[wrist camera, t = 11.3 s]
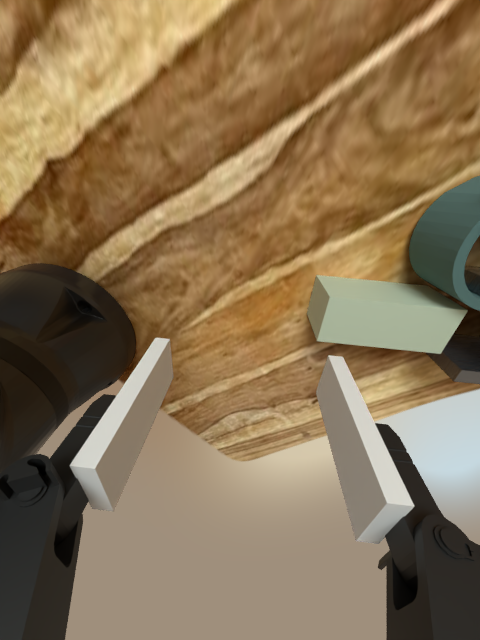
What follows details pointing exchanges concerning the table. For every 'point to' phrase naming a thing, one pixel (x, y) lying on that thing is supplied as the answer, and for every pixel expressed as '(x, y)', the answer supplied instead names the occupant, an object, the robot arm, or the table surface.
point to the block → (382, 314)
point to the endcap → (462, 345)
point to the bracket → (448, 241)
